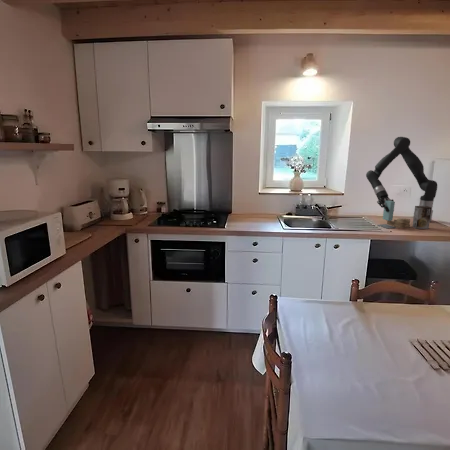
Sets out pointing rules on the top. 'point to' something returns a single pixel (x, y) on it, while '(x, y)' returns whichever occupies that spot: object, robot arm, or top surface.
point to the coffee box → (421, 217)
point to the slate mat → (387, 226)
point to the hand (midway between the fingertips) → (390, 211)
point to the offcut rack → (400, 223)
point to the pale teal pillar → (389, 214)
